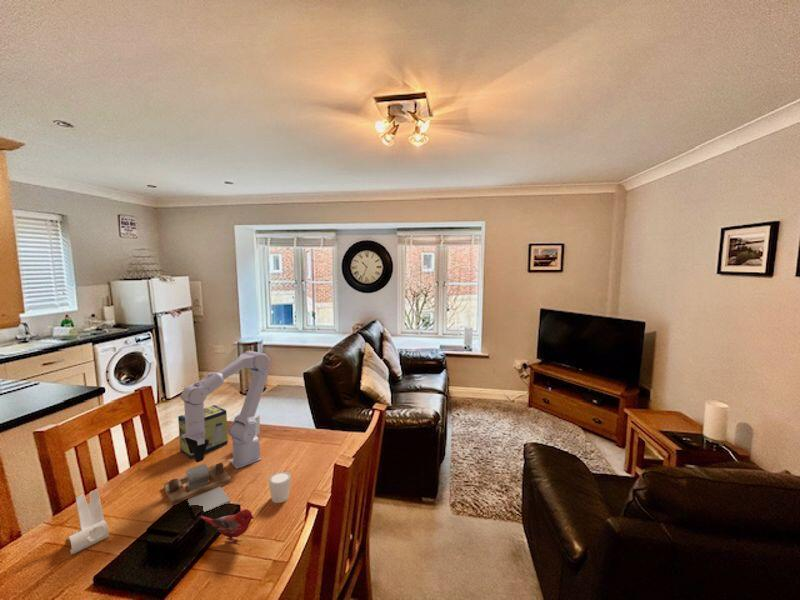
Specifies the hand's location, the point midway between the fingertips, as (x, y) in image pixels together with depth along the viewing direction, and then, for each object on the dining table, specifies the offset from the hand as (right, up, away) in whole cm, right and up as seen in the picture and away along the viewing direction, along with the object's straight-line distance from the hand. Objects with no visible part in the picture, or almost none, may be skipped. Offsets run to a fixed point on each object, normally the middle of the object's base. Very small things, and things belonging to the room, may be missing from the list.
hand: (196, 456), depth 118 cm
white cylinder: (+32, -11, -6) cm, 34 cm away
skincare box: (+7, -8, +30) cm, 32 cm away
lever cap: (0, -10, +1) cm, 10 cm away
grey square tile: (+9, -11, -8) cm, 17 cm away
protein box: (-13, -9, +26) cm, 30 cm away
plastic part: (-16, -13, -24) cm, 31 cm away
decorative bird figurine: (+23, -13, -24) cm, 36 cm away
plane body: (0, -10, +1) cm, 10 cm away
